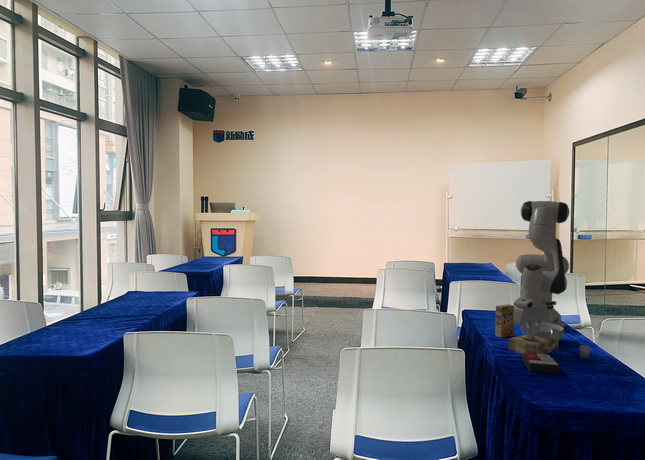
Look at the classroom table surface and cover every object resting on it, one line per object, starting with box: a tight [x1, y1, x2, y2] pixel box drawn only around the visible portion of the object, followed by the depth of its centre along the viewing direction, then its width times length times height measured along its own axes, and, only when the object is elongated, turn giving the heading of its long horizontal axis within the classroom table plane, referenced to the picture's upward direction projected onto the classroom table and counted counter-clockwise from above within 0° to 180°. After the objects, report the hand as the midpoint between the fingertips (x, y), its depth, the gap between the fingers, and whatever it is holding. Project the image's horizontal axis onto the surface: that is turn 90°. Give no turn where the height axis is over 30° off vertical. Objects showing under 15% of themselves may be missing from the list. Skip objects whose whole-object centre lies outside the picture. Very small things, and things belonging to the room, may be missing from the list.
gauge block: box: [507, 334, 553, 355], centre depth 210 cm, size 14×12×5 cm
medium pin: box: [550, 328, 560, 351], centre depth 213 cm, size 4×4×9 cm
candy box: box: [494, 304, 515, 338], centre depth 233 cm, size 9×4×15 cm, turn 113°
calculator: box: [521, 353, 561, 375], centre depth 190 cm, size 11×4×15 cm
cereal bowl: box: [525, 322, 565, 340], centre depth 225 cm, size 17×17×7 cm
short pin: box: [579, 344, 591, 360], centre depth 201 cm, size 4×4×5 cm
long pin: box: [525, 321, 536, 342], centre depth 210 cm, size 4×4×14 cm
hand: (530, 331), depth 210 cm, fingers open, 8 cm apart
